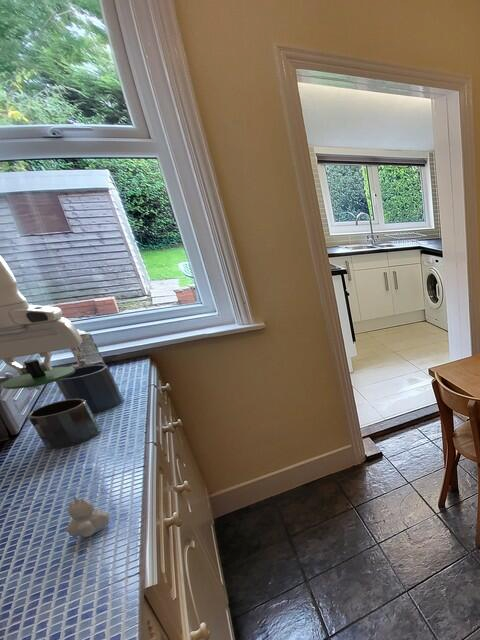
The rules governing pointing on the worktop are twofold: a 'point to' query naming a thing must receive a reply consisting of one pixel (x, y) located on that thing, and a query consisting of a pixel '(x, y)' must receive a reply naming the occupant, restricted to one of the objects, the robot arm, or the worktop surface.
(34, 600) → the worktop surface
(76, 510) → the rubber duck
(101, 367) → the tin
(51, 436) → the cup
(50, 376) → the lid
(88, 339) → the candy bar box
